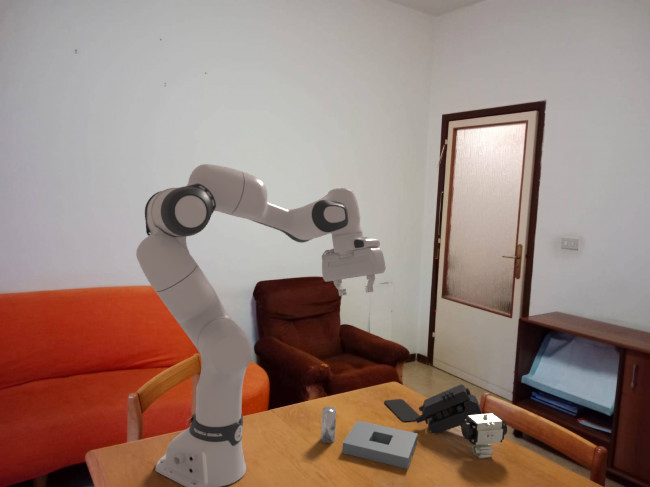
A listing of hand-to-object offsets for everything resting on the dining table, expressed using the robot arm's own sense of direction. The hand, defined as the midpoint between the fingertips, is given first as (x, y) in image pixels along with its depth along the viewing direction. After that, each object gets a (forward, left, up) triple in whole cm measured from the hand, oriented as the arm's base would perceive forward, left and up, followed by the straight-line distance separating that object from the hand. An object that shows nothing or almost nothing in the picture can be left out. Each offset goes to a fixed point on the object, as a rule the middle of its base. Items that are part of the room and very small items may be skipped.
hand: (355, 293), depth 135 cm
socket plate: (+10, -2, -43) cm, 44 cm away
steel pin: (-5, -4, -43) cm, 43 cm away
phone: (+11, +24, -43) cm, 51 cm away
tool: (+27, +16, -43) cm, 53 cm away
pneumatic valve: (+37, +6, -43) cm, 57 cm away
